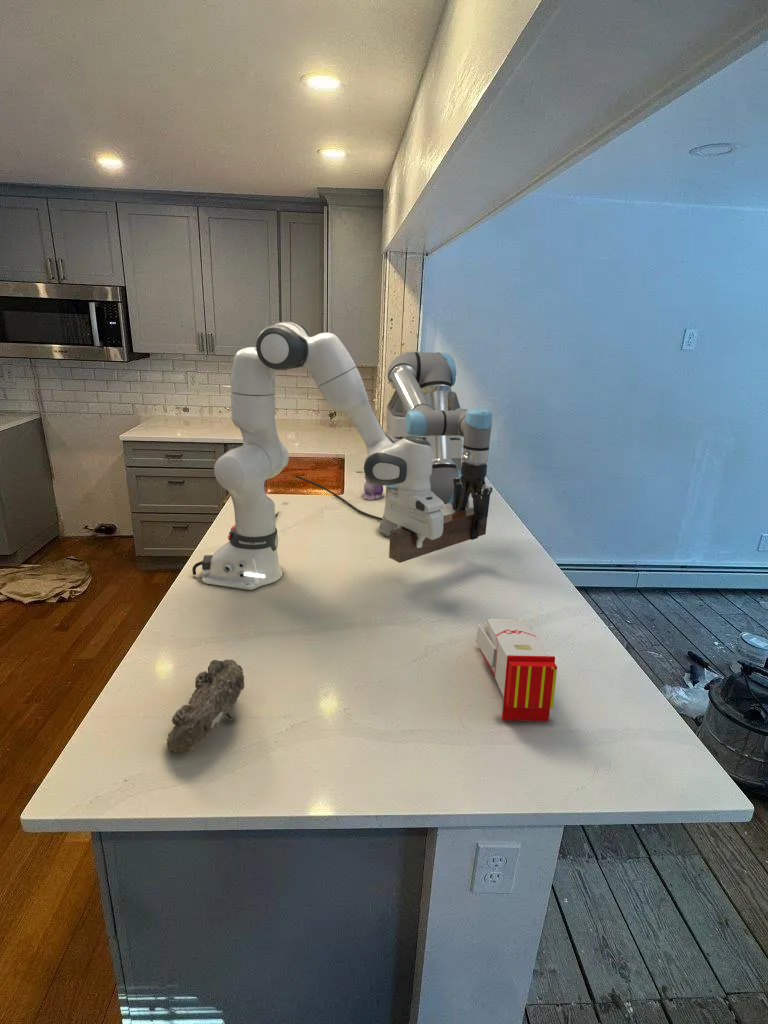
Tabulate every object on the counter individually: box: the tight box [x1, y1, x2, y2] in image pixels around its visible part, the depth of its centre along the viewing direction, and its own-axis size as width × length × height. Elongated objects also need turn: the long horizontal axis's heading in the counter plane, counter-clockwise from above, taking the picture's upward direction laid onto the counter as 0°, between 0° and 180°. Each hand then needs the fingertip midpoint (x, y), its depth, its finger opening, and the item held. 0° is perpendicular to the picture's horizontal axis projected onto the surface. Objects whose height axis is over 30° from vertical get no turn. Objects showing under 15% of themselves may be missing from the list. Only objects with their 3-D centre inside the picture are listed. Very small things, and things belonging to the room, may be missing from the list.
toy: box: [475, 618, 558, 722], centre depth 122 cm, size 12×13×30 cm
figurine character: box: [450, 499, 470, 512], centre depth 227 cm, size 7×8×15 cm
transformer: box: [385, 389, 464, 471], centre depth 268 cm, size 34×33×41 cm
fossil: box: [166, 658, 245, 754], centre depth 106 cm, size 22×10×15 cm
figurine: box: [363, 474, 384, 501], centre depth 235 cm, size 9×10×15 cm
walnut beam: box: [388, 506, 488, 564], centre depth 165 cm, size 4×36×8 cm, turn 131°
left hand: (410, 543), depth 158 cm, fingers closed on walnut beam, 4 cm apart
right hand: (467, 535), depth 174 cm, fingers closed on walnut beam, 4 cm apart
